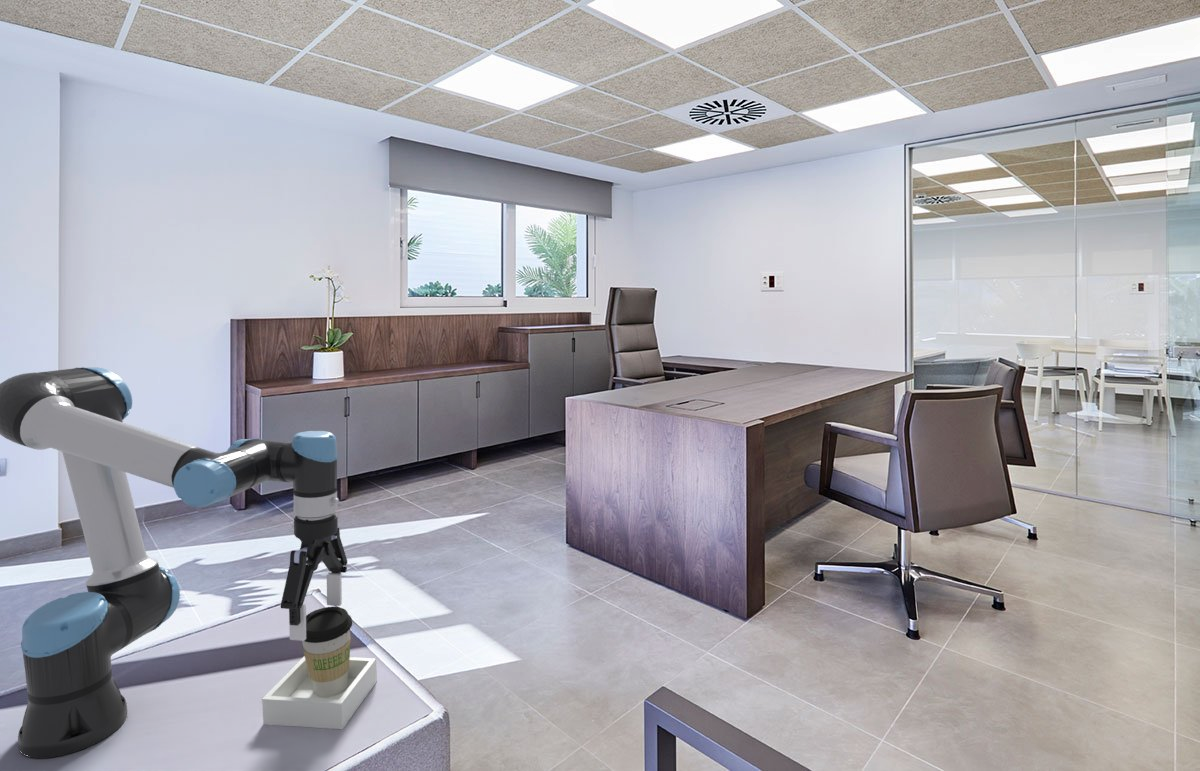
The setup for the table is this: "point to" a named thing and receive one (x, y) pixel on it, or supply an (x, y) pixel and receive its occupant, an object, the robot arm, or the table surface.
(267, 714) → the bin
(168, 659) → the table surface
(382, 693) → the table surface
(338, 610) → the coffee cup
